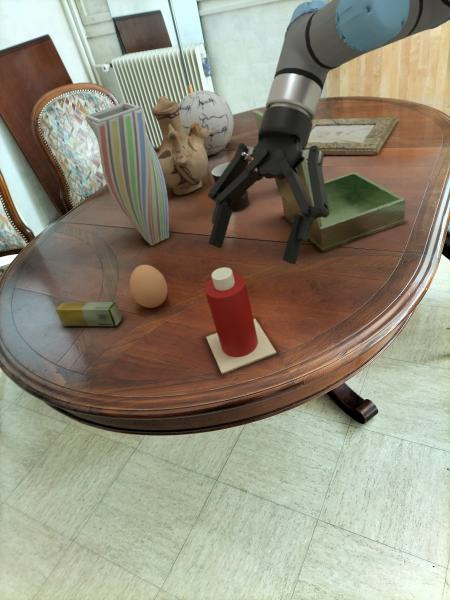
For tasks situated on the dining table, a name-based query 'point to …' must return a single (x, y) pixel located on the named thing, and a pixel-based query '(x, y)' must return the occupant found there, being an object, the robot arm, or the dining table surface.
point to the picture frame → (350, 135)
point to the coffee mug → (242, 200)
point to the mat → (233, 363)
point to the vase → (132, 169)
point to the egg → (148, 286)
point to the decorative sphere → (208, 118)
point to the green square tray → (353, 211)
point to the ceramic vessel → (180, 149)
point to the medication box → (89, 314)
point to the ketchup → (231, 312)
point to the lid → (283, 184)
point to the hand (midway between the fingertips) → (249, 253)
